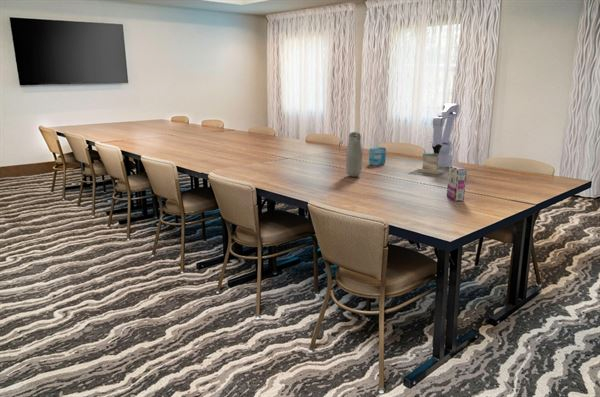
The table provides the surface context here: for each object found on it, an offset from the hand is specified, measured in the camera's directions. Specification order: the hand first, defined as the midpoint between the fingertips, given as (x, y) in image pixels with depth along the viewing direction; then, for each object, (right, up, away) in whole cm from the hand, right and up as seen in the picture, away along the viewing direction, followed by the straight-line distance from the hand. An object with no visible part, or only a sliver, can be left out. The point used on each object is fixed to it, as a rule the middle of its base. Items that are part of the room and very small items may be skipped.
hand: (436, 156), depth 309 cm
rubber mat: (-8, -12, -9) cm, 17 cm away
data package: (-36, -4, +23) cm, 43 cm away
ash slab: (-6, -11, -6) cm, 14 cm away
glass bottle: (-57, -15, -16) cm, 61 cm away
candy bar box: (-11, -29, -70) cm, 76 cm away
